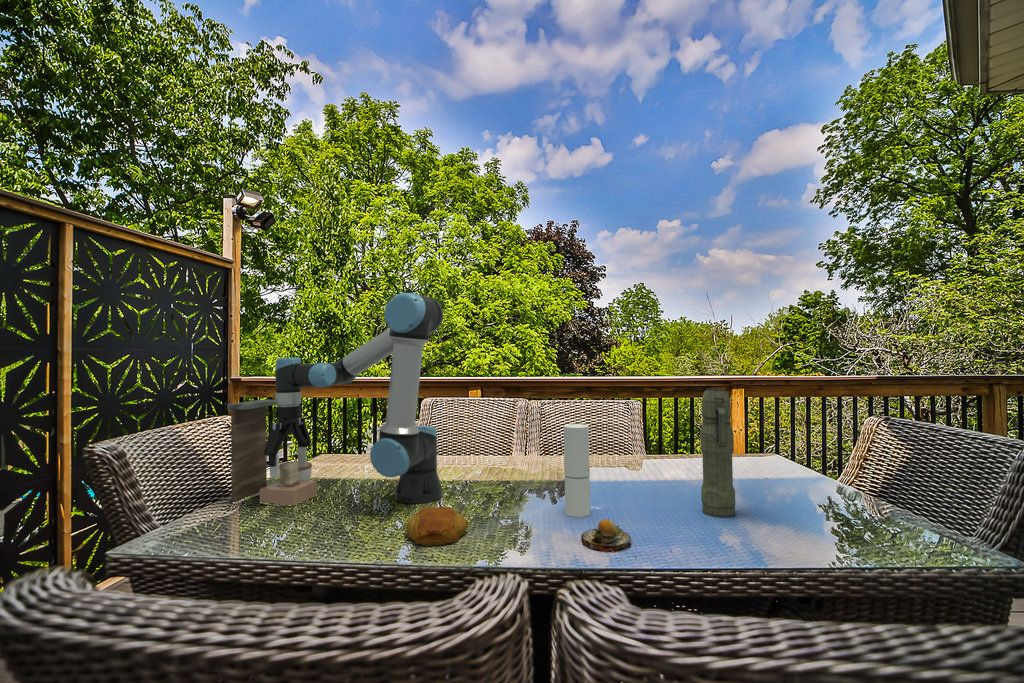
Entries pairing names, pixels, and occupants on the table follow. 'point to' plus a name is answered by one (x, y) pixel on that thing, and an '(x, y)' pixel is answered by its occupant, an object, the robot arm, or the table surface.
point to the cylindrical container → (577, 470)
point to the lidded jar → (304, 472)
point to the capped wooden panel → (248, 447)
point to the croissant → (436, 526)
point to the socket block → (288, 493)
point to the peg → (288, 474)
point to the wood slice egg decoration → (606, 537)
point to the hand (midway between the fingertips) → (288, 471)
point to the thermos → (717, 454)
